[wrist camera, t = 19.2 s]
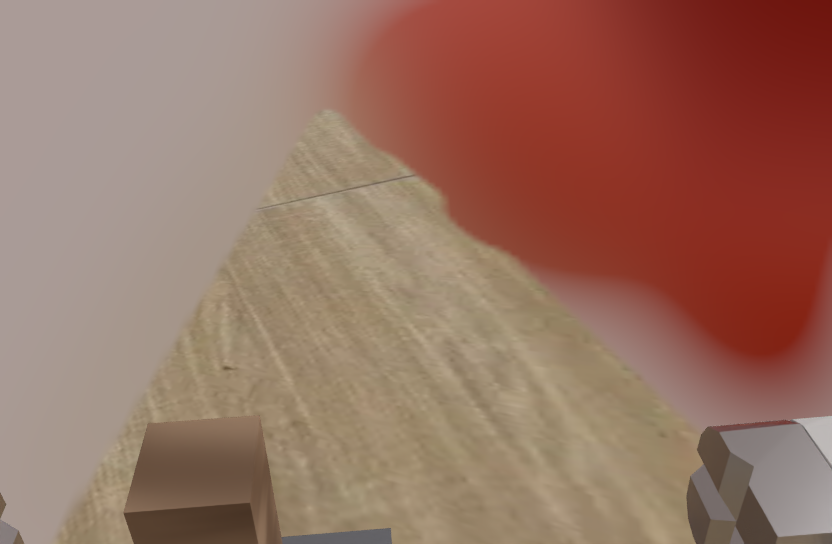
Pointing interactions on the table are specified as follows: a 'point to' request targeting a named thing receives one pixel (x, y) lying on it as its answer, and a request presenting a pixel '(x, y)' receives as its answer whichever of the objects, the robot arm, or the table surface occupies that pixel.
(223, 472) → the brown rectangular bar
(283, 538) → the grey socket base
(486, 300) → the table surface
